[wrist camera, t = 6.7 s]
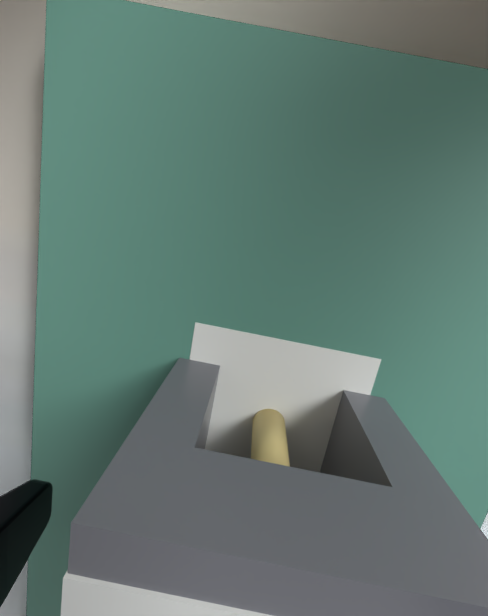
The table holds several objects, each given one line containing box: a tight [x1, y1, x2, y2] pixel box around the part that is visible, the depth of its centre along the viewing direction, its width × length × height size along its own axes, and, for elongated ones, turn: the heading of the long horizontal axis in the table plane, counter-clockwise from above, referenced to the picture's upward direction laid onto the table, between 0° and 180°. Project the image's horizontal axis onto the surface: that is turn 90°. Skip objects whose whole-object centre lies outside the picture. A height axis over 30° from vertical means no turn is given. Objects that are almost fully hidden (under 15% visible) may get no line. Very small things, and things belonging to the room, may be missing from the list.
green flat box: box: [26, 0, 488, 616], centre depth 8 cm, size 20×12×4 cm, turn 169°
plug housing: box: [61, 358, 488, 616], centre depth 6 cm, size 6×5×5 cm
